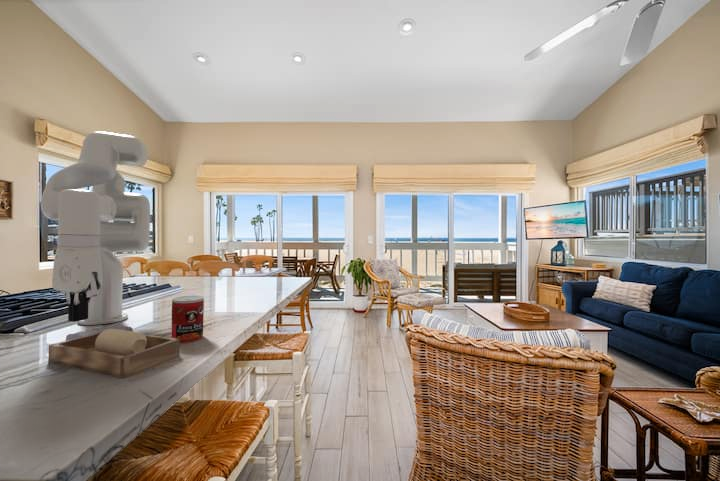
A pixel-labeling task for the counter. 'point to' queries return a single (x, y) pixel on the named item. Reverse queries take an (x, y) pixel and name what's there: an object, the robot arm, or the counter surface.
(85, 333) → the stone block
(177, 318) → the canned food
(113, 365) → the tray
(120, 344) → the candle
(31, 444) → the counter surface
